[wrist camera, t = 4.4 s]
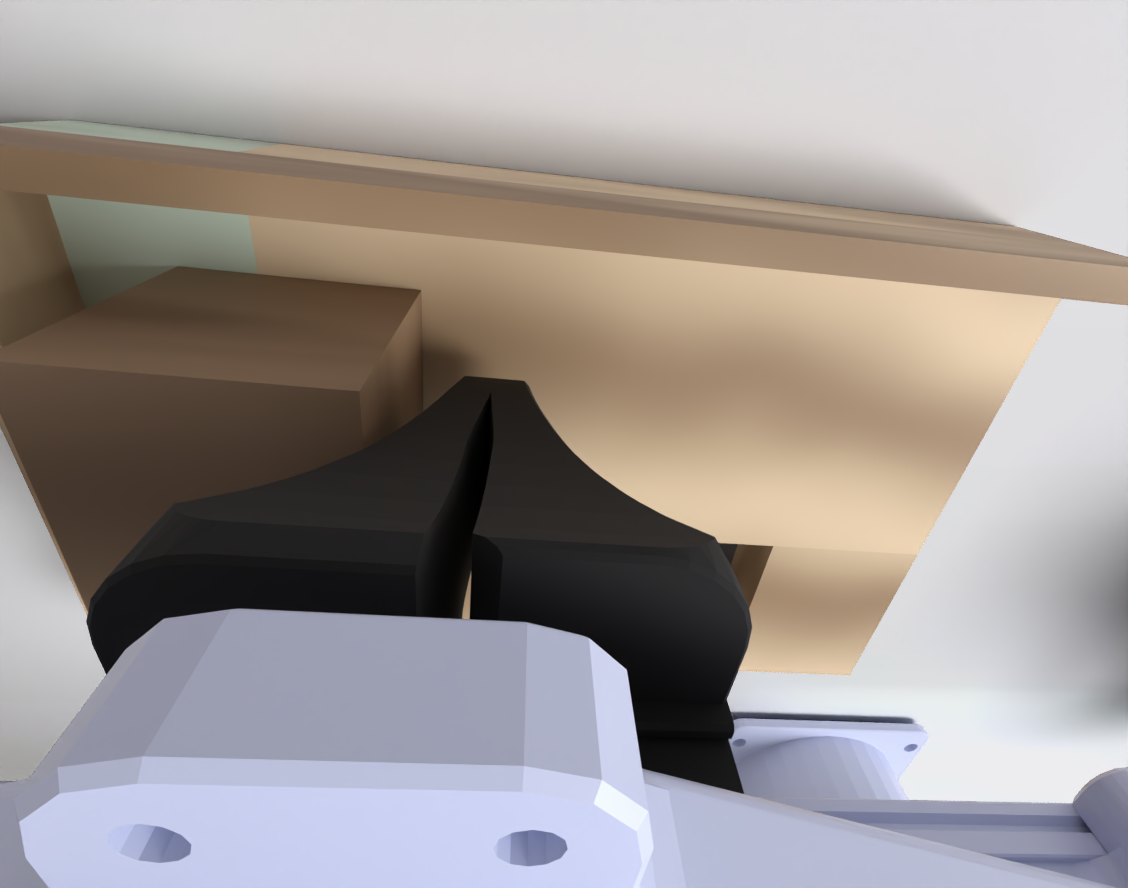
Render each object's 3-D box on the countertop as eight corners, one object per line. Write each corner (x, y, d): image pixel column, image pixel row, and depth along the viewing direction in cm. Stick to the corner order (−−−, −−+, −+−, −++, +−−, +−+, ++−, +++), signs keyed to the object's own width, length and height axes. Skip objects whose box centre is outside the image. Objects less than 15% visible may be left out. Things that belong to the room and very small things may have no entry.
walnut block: (424, 480, 13) (378, 633, 10) (223, 466, 13) (91, 620, 9) (421, 290, 11) (359, 391, 7) (177, 266, 11) (-24, 359, 7)
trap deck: (822, 624, 20) (882, 736, 16) (210, 595, 18) (132, 713, 14) (1017, 227, 13) (1188, 274, 10) (70, 119, 11) (-135, 129, 8)
